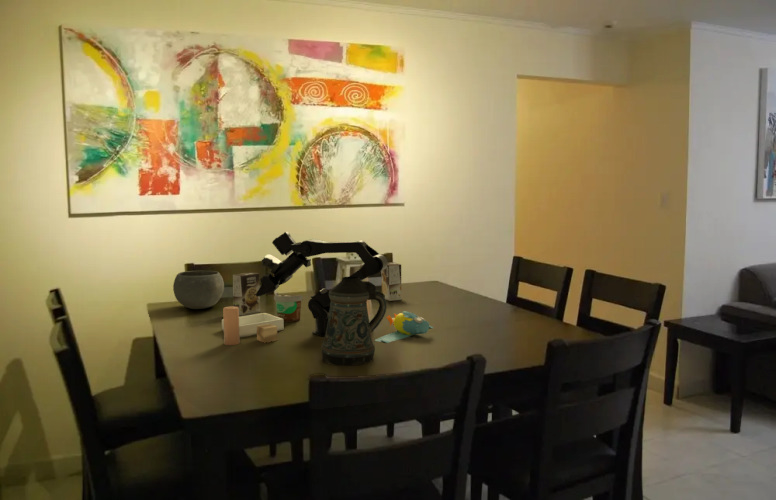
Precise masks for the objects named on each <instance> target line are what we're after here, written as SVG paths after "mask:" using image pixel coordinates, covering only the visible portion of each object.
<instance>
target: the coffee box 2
mask: <svg viewBox="0 0 776 500" xmlns="http://www.w3.org/2000/svg"><path fill="white" fill-rule="evenodd" d="M380 273H381V275H380V276H381V279H380V280H381V293H383V294H384V295H385V299H386V301H389V302H390V301H401V300H402V264H401V263H396V262H393V261H392V262H388V265H387V268H386V269H384V270H383V271H381V272H380Z"/></svg>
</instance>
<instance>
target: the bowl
mask: <svg viewBox="0 0 776 500" xmlns="http://www.w3.org/2000/svg"><path fill="white" fill-rule="evenodd" d="M172 287H173V294H174V298H175V299H176V300H177V301H178V303H180V305H182V306H184V307H186V308H187V309H191V310H204V309H207V308H208V309H209V308H211V307H213V306H214V305H216V304H217V303H218V302H219V301H220V300H221V297H222V295H223V293H224V290H225V282H224V279H223V276H222V275H221V273H220V272H219V271H215V270H190V271H189V270H188V271H187V270H186V271H181V272H179V273H178V274H176V275H175V279H174V281H173V285H172Z"/></svg>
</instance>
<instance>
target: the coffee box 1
mask: <svg viewBox="0 0 776 500" xmlns="http://www.w3.org/2000/svg"><path fill="white" fill-rule="evenodd" d="M260 287H261V285H260V273H258V272H242V273H236V274H235V273H234V274H232V300H233V301H232V305H233V306H235V307H239V316H247V315H253V314H258V313H259V312H261V302H260V301H261V296H259V297H257V296H256V293H257V291H258V290H259V288H260Z"/></svg>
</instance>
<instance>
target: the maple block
mask: <svg viewBox="0 0 776 500" xmlns="http://www.w3.org/2000/svg"><path fill="white" fill-rule="evenodd" d="M256 340H257V341H259V342H261V343H263V342H264V343H263V344H266V342H267V343H271V341H272V342H277V341H278V331H277V326H275V325H272V324H265V325H259V326H257V335H256Z"/></svg>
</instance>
